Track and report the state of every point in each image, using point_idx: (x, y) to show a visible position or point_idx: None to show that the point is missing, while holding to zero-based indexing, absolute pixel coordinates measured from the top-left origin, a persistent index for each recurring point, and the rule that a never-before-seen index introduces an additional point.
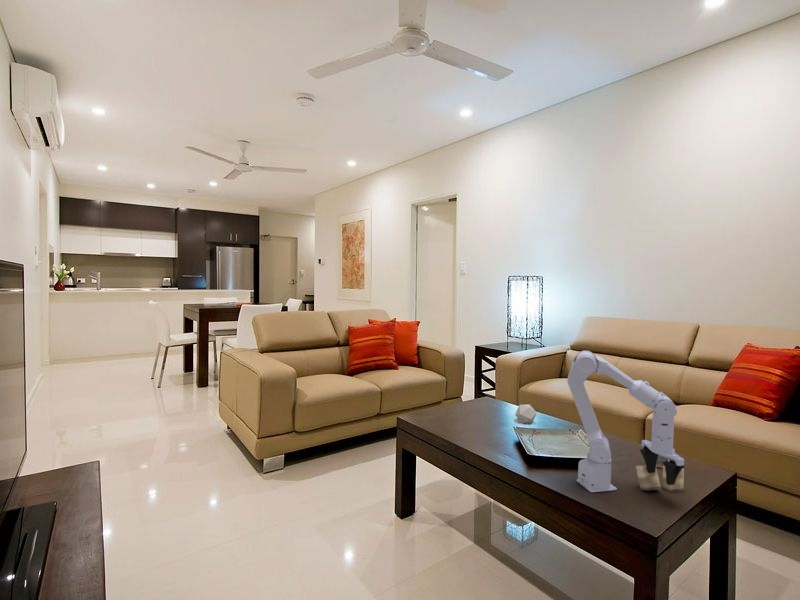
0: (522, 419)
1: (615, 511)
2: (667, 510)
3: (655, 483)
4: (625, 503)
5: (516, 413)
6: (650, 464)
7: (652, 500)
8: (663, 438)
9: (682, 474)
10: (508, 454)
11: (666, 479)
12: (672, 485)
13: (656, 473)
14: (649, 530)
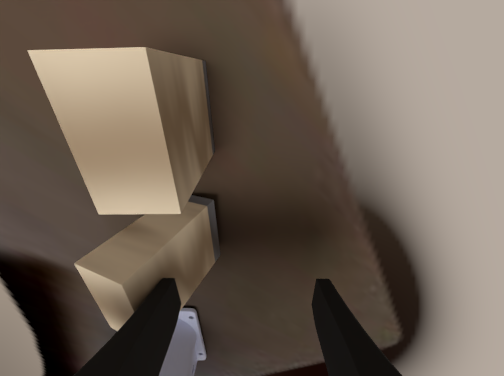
0: None
1: (294, 352)
2: (333, 256)
3: (200, 234)
4: (267, 322)
5: None
6: (155, 357)
7: (266, 257)
8: None
9: (171, 71)
10: None
11: (321, 339)
12: (206, 147)
13: (165, 253)
14: (384, 340)
